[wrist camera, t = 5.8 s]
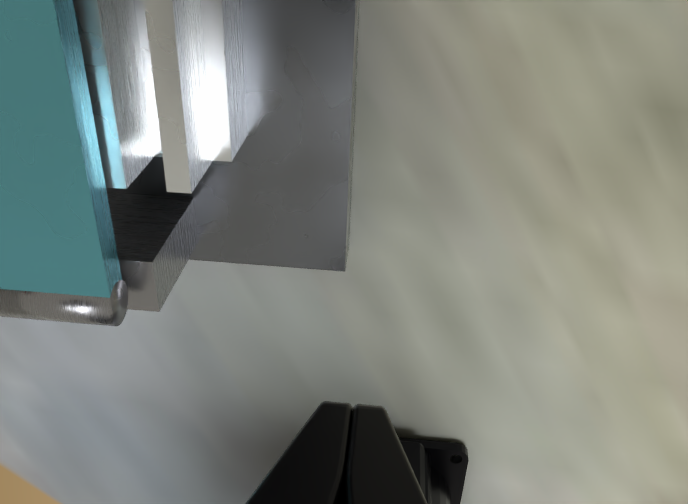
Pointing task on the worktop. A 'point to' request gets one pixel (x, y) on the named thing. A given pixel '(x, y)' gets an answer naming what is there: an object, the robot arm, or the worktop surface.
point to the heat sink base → (286, 144)
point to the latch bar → (52, 175)
